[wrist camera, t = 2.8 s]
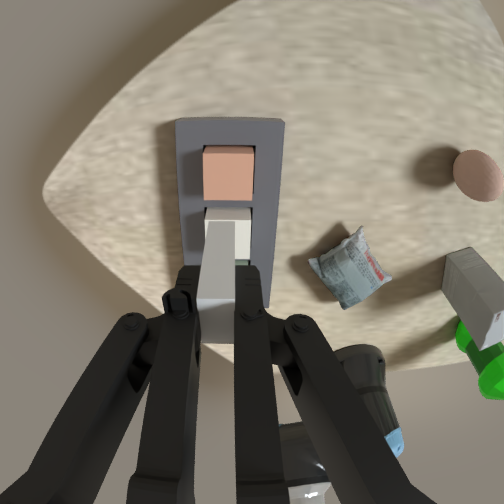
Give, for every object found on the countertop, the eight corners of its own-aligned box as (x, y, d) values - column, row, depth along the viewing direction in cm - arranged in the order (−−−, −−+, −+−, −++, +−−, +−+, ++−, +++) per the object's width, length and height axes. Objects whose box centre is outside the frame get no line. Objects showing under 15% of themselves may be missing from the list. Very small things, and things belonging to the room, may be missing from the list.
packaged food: (356, 216, 37) (369, 235, 33) (387, 271, 43) (400, 291, 38) (302, 252, 40) (309, 274, 36) (341, 300, 45) (349, 322, 41)
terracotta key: (250, 186, 33) (252, 200, 29) (207, 186, 32) (203, 200, 29) (252, 145, 30) (254, 153, 27) (206, 144, 30) (202, 153, 26)
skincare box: (464, 280, 45) (508, 338, 32) (436, 290, 46) (478, 355, 32) (472, 243, 40) (525, 301, 27) (442, 253, 41) (495, 318, 28)
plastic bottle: (465, 336, 55) (508, 416, 34) (441, 336, 53) (486, 427, 32) (489, 306, 50) (541, 386, 29) (466, 302, 48) (524, 394, 27)
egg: (471, 184, 34) (510, 210, 27) (441, 187, 35) (479, 216, 27) (475, 142, 31) (517, 163, 23) (443, 143, 31) (486, 164, 24)
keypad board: (266, 293, 43) (268, 309, 40) (191, 293, 43) (189, 308, 40) (280, 118, 30) (285, 122, 27) (180, 117, 29) (174, 121, 27)
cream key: (248, 240, 36) (249, 259, 33) (209, 240, 36) (206, 258, 33) (249, 204, 34) (251, 220, 30) (207, 204, 34) (204, 219, 30)
